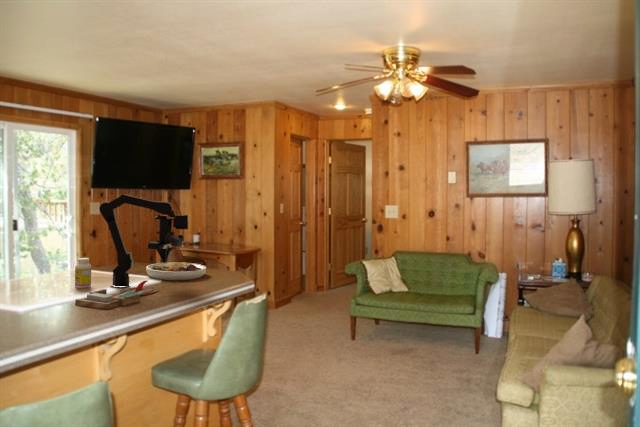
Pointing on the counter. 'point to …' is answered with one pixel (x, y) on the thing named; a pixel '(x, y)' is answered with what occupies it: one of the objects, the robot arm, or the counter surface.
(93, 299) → the matte grey rectangular prism
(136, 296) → the jig
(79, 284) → the supplement bottle
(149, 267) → the bowl
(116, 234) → the robot arm
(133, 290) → the toy spaceship
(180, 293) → the counter surface
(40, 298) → the counter surface
